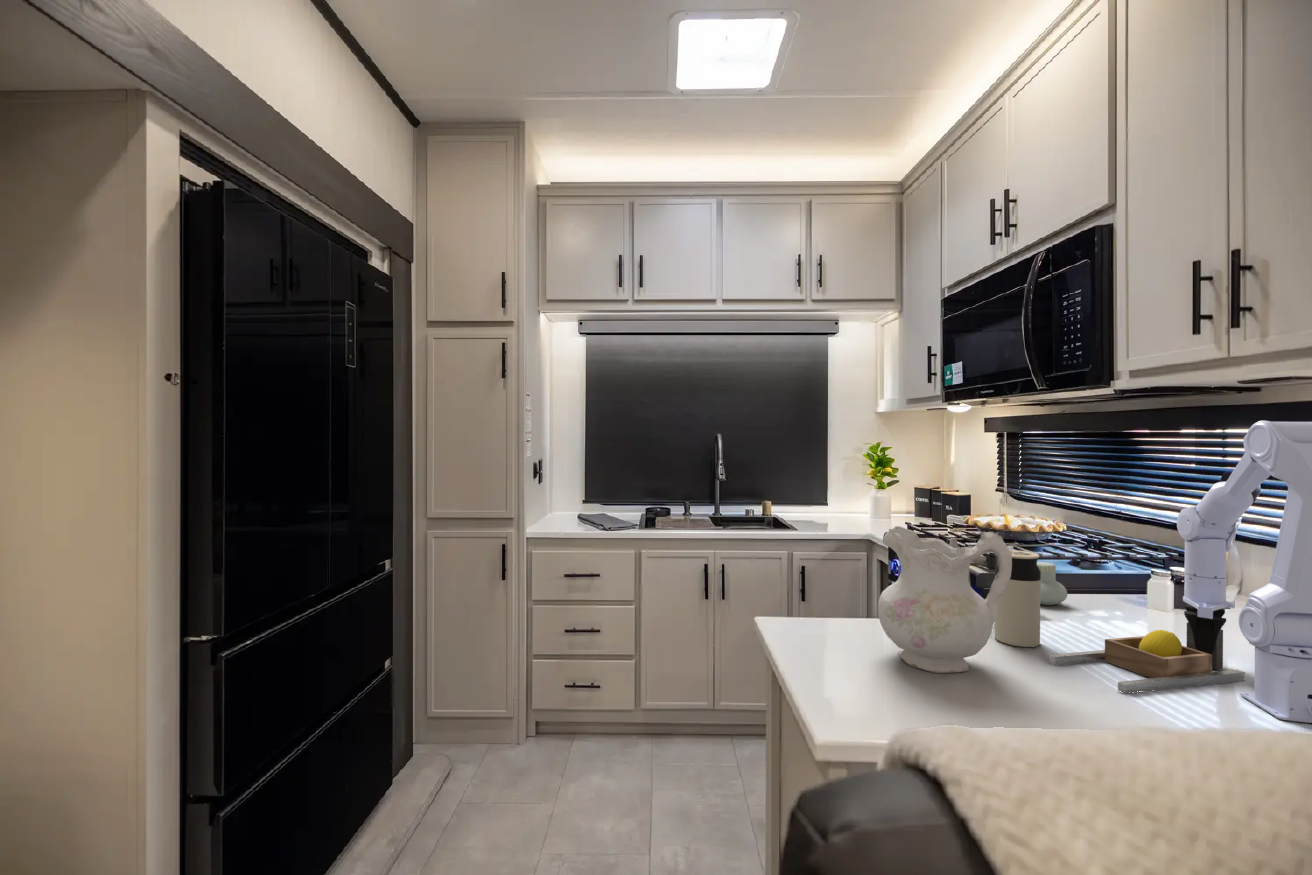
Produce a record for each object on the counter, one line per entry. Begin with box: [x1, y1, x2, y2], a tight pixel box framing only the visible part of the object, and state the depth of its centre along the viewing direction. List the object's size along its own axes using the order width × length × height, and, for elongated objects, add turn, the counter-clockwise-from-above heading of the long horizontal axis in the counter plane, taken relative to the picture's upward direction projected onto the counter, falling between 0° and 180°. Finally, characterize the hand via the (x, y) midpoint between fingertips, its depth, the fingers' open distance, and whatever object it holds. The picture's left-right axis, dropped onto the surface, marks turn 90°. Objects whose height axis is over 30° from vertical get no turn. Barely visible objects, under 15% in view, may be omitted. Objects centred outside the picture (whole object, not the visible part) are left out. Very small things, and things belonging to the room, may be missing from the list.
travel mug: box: [994, 549, 1041, 648], centre depth 125 cm, size 8×8×18 cm
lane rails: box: [1048, 649, 1246, 694], centre depth 109 cm, size 26×14×2 cm, turn 104°
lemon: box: [1139, 629, 1183, 657], centre depth 110 cm, size 6×6×8 cm
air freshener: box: [1037, 560, 1068, 606], centre depth 156 cm, size 11×8×10 cm
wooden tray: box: [1104, 621, 1224, 679], centre depth 111 cm, size 18×11×7 cm, turn 104°
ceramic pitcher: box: [877, 526, 1012, 674], centre depth 113 cm, size 22×20×25 cm
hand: (1204, 649), depth 113 cm, fingers open, 5 cm apart
